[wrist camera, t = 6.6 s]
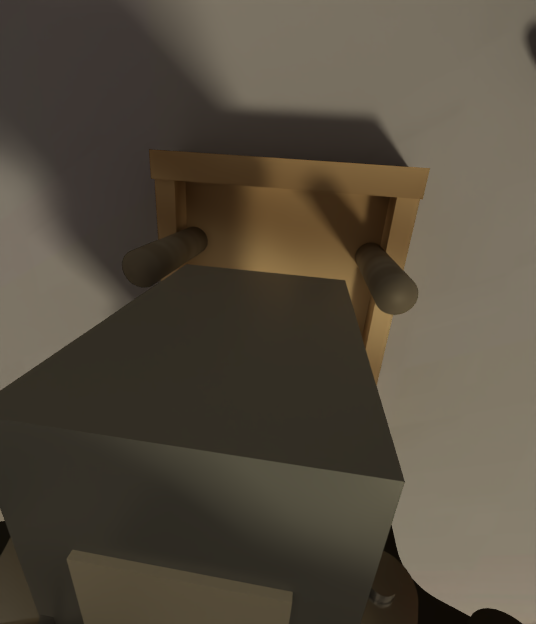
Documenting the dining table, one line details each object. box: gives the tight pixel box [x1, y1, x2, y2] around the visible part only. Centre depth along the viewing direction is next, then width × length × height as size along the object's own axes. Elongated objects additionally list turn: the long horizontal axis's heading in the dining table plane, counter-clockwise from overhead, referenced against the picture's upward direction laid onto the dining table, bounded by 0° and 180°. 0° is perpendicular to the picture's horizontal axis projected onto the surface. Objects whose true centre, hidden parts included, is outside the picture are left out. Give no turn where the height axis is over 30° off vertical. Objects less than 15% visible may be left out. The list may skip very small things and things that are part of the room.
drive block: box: [0, 264, 405, 624], centre depth 8 cm, size 10×4×7 cm, turn 176°
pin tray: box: [122, 149, 430, 385], centre depth 14 cm, size 16×10×6 cm, turn 176°
